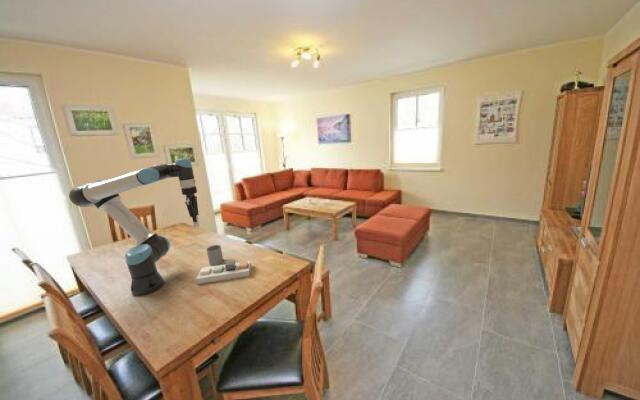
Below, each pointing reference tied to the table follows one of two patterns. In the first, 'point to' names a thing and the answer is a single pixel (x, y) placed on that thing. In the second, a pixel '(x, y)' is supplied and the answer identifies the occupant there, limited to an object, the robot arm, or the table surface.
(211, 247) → the cup
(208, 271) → the key cream
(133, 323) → the table surface
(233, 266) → the key charcoal
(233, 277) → the keypad
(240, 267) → the key terracotta
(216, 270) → the key sage
